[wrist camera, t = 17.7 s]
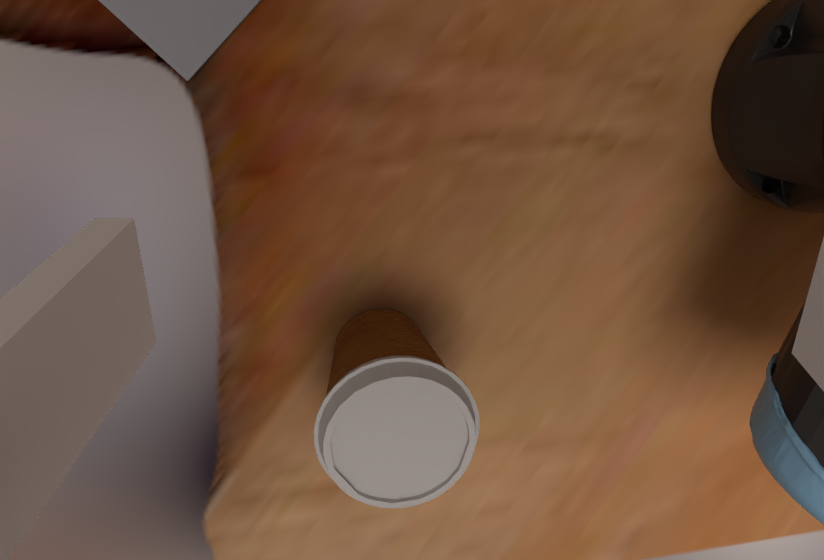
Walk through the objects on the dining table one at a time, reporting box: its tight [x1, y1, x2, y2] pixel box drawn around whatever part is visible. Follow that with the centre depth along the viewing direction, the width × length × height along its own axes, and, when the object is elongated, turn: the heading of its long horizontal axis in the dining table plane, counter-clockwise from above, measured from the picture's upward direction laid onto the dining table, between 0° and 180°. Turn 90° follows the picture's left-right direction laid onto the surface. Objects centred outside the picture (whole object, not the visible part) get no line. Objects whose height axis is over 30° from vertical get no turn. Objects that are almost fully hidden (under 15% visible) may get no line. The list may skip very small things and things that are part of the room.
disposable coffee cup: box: [314, 309, 479, 508], centre depth 45 cm, size 10×10×12 cm
